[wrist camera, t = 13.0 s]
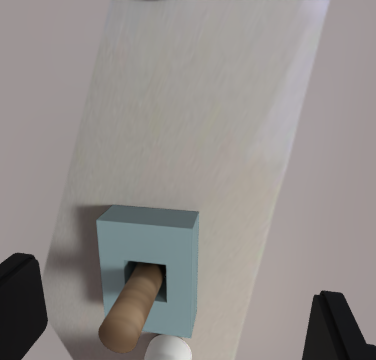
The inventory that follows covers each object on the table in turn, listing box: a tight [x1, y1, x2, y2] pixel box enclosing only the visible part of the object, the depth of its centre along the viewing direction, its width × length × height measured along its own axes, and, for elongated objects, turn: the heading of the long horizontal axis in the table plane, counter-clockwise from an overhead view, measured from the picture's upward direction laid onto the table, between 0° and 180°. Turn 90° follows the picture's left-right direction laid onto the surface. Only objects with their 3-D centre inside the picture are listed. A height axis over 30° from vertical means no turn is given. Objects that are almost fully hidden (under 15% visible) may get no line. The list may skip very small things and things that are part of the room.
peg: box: [99, 262, 167, 353], centre depth 36 cm, size 4×4×14 cm
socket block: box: [96, 205, 199, 338], centre depth 40 cm, size 16×12×5 cm
